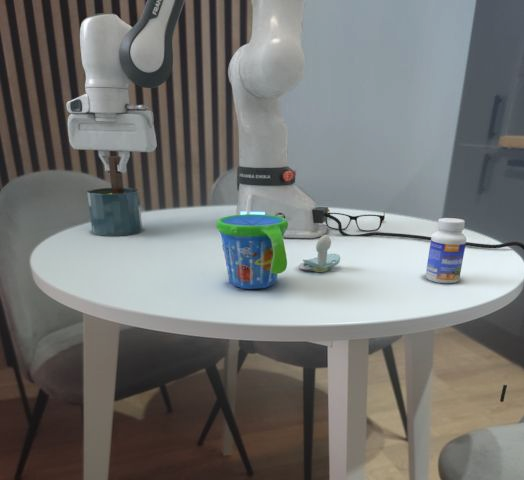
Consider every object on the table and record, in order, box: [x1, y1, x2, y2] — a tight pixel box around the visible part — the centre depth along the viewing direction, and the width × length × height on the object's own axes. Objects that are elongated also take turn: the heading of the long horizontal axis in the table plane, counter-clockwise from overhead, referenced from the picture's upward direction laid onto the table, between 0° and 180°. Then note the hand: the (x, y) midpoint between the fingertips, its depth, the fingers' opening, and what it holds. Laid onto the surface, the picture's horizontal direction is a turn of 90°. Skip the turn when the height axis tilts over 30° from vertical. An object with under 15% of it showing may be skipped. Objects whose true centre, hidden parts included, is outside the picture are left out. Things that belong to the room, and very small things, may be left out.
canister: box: [86, 187, 143, 237], centre depth 114 cm, size 11×11×9 cm
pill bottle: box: [425, 217, 467, 284], centre depth 81 cm, size 5×5×10 cm
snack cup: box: [216, 214, 288, 290], centre depth 77 cm, size 16×10×10 cm
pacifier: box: [298, 234, 341, 273], centre depth 86 cm, size 7×6×6 cm
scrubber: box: [108, 155, 124, 194], centre depth 113 cm, size 4×4×12 cm
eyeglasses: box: [324, 208, 386, 233], centre depth 123 cm, size 14×14×4 cm
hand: (115, 172), depth 112 cm, fingers closed on scrubber, 2 cm apart
